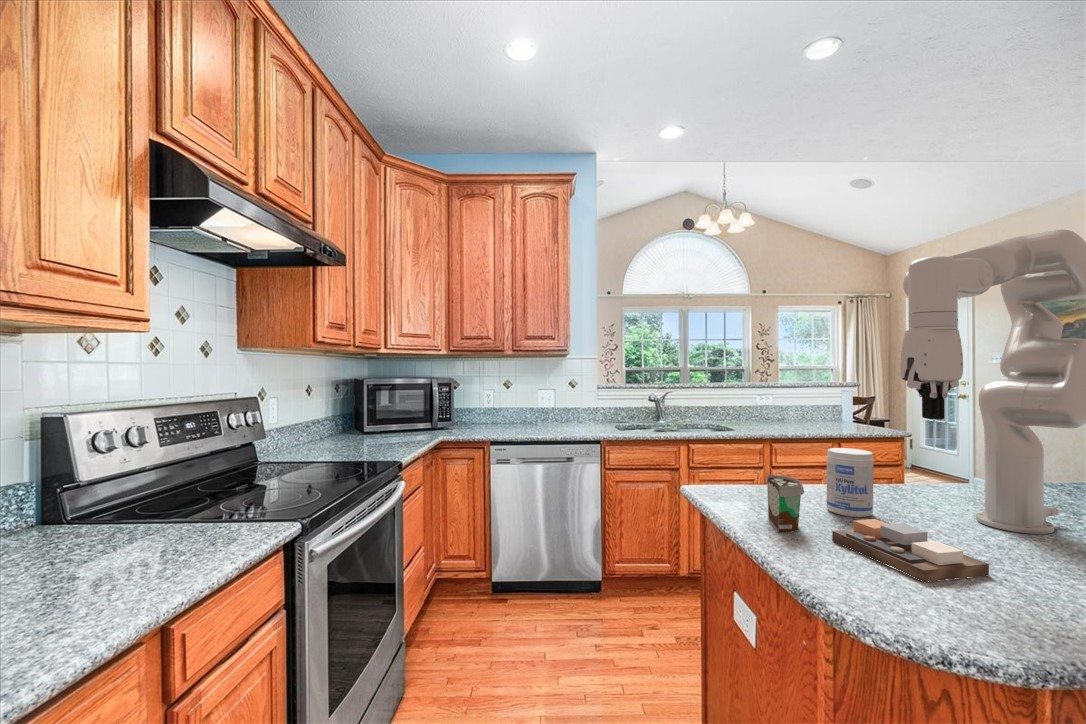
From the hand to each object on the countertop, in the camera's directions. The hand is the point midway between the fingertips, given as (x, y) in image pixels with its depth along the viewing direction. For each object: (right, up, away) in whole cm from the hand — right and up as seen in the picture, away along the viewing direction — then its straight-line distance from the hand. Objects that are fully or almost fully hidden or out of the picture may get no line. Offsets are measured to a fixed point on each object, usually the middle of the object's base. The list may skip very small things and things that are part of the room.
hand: (933, 418), depth 99 cm
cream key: (-7, -23, -10) cm, 26 cm away
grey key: (-8, -22, -4) cm, 24 cm away
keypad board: (-8, -25, -4) cm, 27 cm away
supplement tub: (-2, -25, +24) cm, 35 cm away
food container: (-21, -25, +14) cm, 36 cm away
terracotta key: (-10, -23, +3) cm, 25 cm away
